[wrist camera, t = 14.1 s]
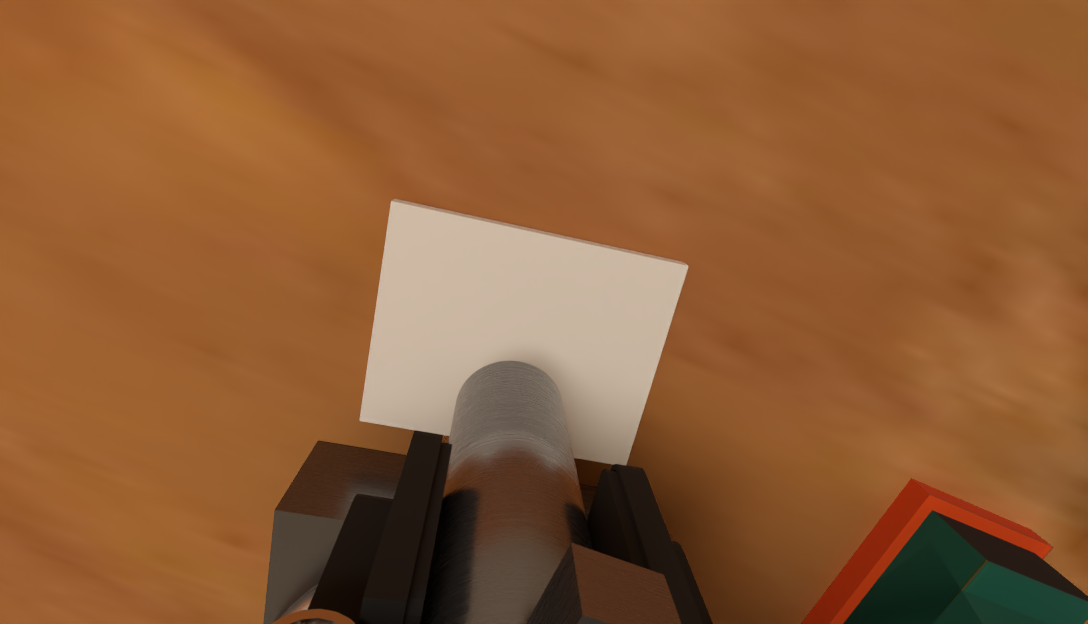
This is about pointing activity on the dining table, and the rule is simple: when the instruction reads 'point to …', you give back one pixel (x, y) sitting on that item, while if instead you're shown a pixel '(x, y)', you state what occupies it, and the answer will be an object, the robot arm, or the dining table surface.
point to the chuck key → (525, 519)
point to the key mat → (516, 323)
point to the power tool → (948, 570)
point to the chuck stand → (327, 515)
